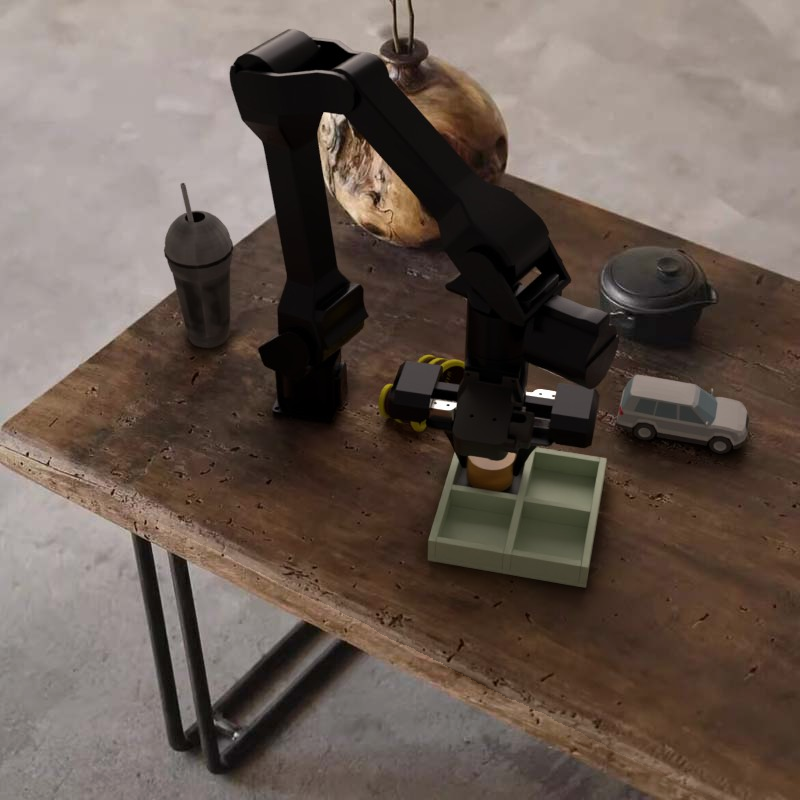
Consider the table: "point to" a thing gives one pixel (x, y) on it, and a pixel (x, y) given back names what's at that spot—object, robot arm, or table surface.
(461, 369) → the opera glasses
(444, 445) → the table surface
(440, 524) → the grid
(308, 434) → the table surface
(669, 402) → the toy car
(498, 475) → the cylinder
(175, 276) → the beverage cup
